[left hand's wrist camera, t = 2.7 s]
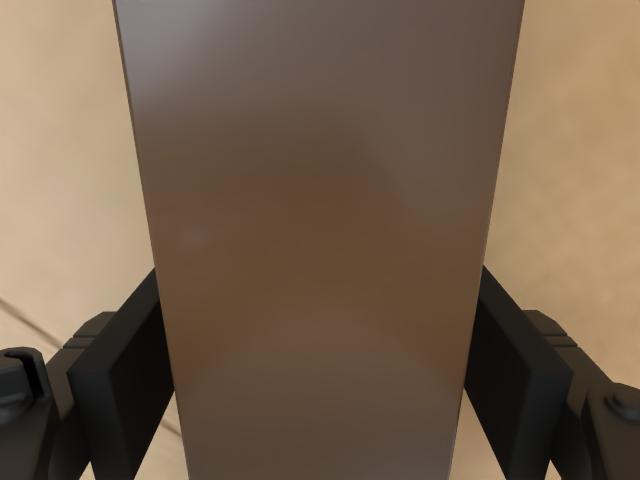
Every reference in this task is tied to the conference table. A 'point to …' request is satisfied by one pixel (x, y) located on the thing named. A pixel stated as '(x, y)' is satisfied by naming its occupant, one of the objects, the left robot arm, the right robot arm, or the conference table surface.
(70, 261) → the conference table surface
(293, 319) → the beam
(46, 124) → the conference table surface
